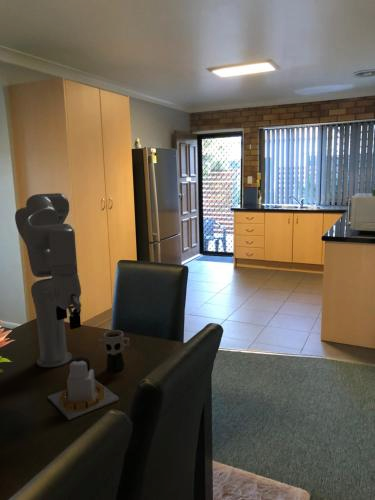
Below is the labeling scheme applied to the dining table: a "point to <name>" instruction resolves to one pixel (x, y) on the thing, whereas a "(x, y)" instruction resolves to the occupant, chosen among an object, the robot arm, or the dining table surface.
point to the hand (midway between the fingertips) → (68, 323)
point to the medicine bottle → (80, 381)
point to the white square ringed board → (77, 409)
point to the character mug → (114, 348)
